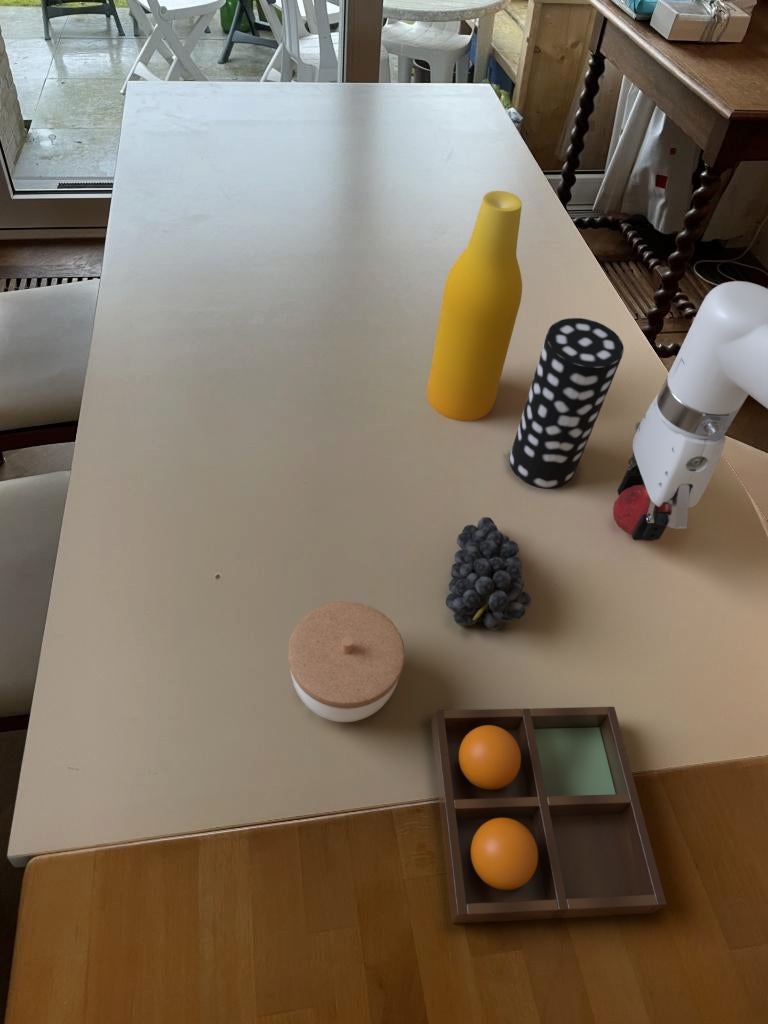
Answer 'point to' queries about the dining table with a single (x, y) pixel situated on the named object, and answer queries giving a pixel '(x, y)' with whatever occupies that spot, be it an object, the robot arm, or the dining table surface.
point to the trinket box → (345, 660)
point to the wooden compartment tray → (549, 817)
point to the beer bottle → (478, 314)
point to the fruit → (486, 578)
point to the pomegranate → (632, 507)
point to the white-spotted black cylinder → (564, 401)
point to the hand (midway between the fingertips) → (637, 514)
